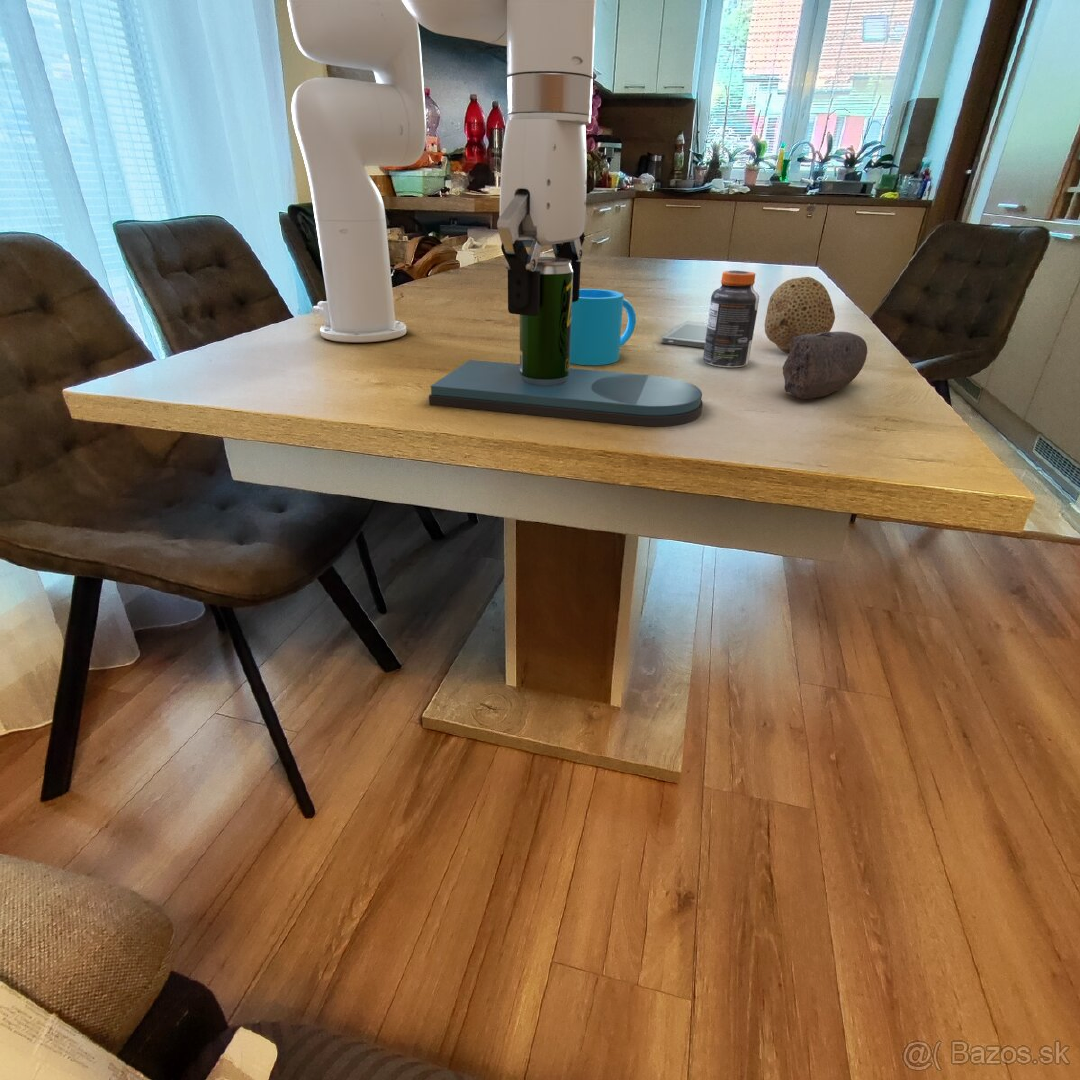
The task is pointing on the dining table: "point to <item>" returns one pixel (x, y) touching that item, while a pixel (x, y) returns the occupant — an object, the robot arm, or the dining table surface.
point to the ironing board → (571, 395)
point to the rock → (823, 363)
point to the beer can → (548, 326)
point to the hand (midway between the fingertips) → (545, 306)
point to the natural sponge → (798, 311)
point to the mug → (599, 326)
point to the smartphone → (687, 334)
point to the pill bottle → (731, 320)
